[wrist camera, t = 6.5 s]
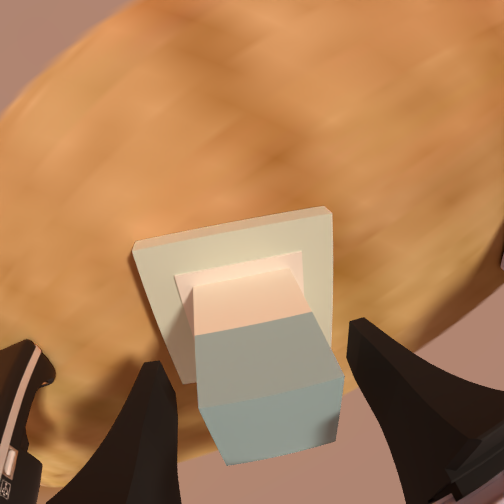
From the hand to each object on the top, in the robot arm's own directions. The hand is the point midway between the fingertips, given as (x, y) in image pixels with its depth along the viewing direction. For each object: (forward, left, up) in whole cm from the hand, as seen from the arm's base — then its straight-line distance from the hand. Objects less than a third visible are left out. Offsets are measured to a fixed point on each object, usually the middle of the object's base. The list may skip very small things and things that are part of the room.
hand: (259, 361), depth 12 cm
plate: (0, 0, -4) cm, 4 cm away
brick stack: (0, 0, -3) cm, 3 cm away
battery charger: (+15, +2, -4) cm, 15 cm away
